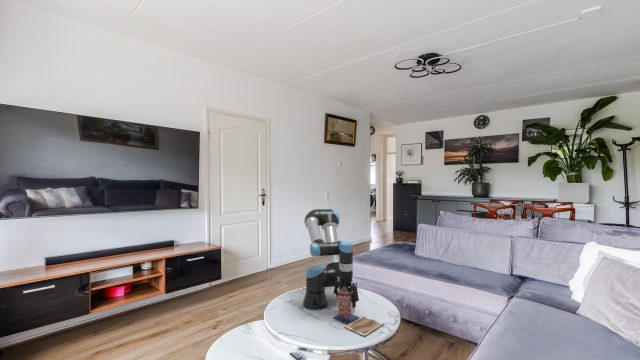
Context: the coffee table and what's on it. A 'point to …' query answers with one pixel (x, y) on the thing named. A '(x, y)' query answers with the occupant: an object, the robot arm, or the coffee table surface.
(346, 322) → the ink pad
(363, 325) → the board
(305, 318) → the coffee table surface
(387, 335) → the coffee table surface
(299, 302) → the coffee table surface
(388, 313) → the coffee table surface
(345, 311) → the mug
